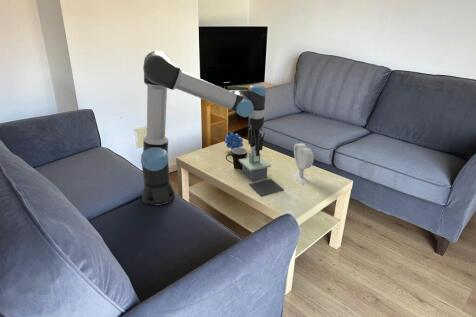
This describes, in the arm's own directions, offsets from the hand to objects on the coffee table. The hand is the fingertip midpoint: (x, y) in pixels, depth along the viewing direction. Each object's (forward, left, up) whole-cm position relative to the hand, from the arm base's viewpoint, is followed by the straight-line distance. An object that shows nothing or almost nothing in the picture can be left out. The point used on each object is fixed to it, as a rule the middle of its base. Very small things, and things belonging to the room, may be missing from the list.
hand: (254, 159), depth 179 cm
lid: (0, 0, -3) cm, 3 cm away
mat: (-1, -14, -9) cm, 17 cm away
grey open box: (0, 0, -9) cm, 9 cm away
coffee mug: (-4, +13, -10) cm, 17 cm away
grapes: (+4, +33, -10) cm, 35 cm away
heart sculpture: (+21, -13, -10) cm, 27 cm away
